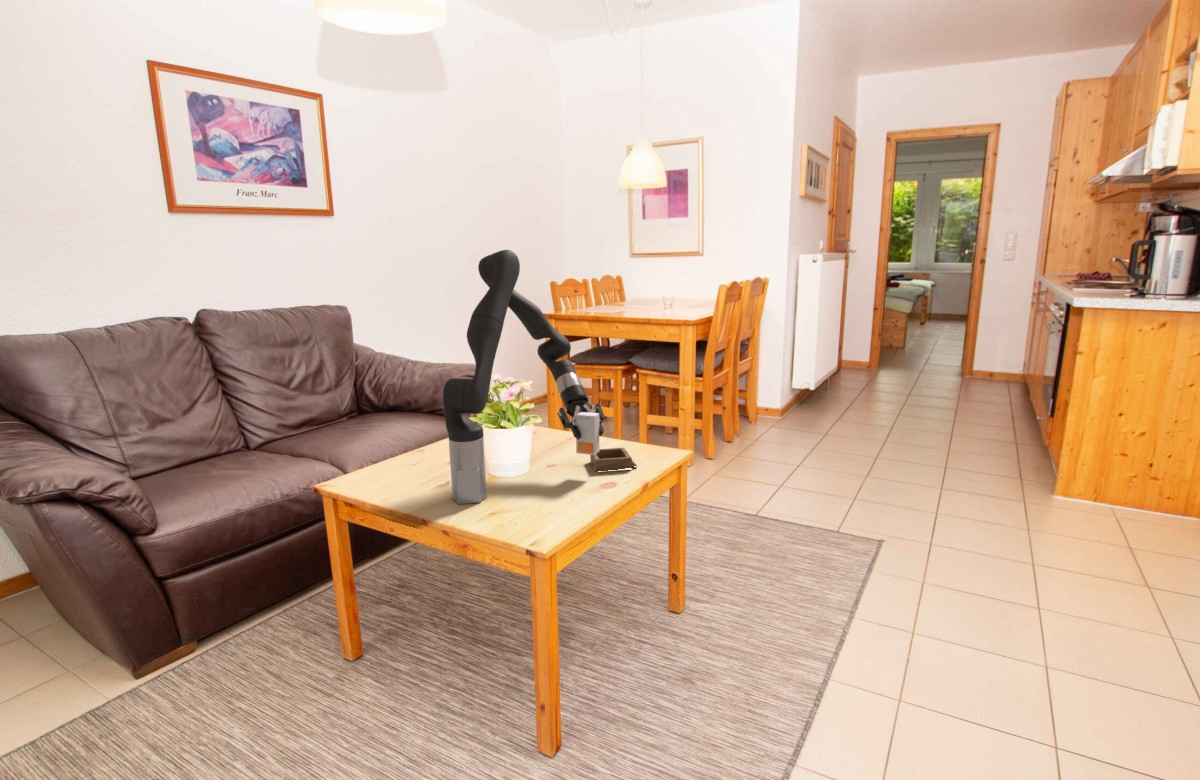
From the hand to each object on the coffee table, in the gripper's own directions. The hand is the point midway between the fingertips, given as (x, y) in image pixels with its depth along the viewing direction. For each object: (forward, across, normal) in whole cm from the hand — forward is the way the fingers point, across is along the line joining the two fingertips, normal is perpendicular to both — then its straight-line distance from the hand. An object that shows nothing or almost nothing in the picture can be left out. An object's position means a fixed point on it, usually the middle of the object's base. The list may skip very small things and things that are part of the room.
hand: (590, 436), depth 186 cm
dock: (+5, +11, +13) cm, 18 cm away
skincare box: (+3, 0, +5) cm, 6 cm away
